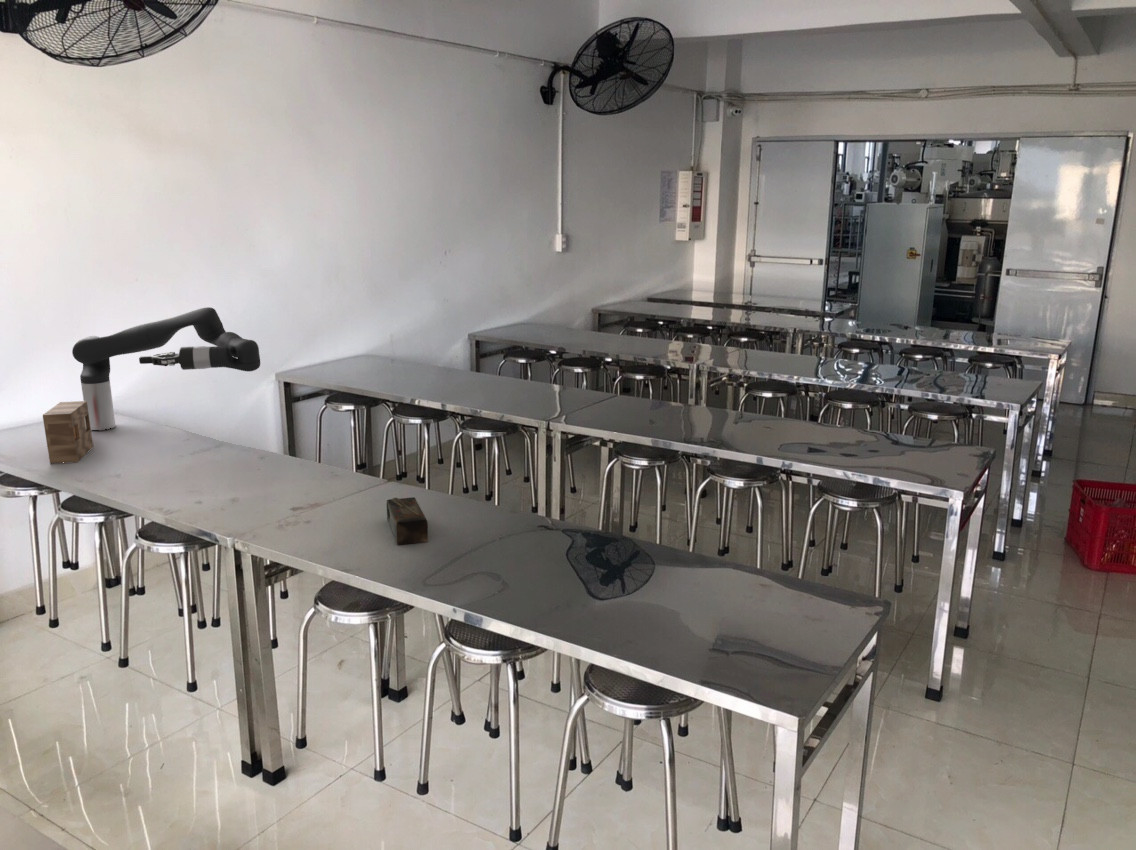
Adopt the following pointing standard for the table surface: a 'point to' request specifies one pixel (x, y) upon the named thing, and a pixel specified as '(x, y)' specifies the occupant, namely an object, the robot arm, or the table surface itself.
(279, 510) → the table surface
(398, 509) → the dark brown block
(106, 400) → the robot arm
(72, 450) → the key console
